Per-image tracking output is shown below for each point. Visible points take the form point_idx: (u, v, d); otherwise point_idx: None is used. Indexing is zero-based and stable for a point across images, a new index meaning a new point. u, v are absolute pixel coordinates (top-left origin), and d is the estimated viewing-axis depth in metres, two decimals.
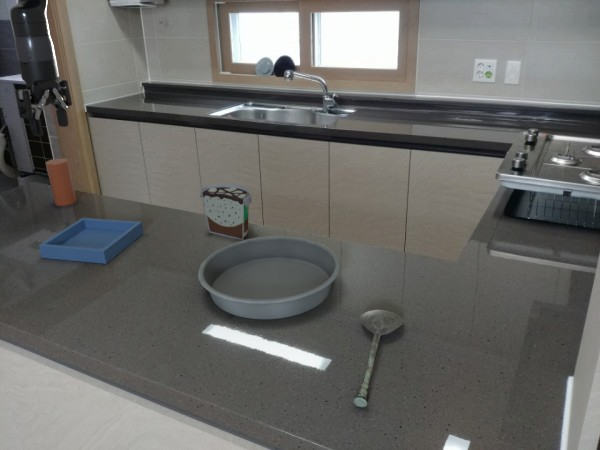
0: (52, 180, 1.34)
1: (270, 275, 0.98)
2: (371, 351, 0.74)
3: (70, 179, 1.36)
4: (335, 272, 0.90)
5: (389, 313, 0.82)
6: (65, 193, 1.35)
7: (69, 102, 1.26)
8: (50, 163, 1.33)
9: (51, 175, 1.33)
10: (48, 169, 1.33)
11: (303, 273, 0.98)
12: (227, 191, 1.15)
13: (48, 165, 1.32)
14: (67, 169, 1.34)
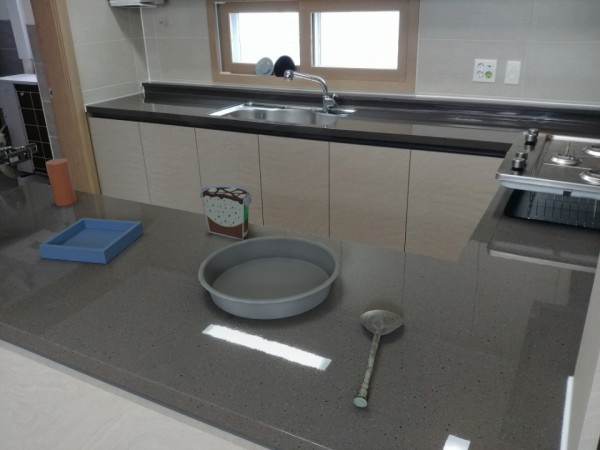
0: (52, 180, 1.34)
1: (270, 275, 0.98)
2: (371, 351, 0.74)
3: (70, 179, 1.36)
4: (335, 272, 0.90)
5: (389, 313, 0.82)
6: (65, 193, 1.35)
7: None
8: (50, 163, 1.33)
9: (51, 175, 1.33)
10: (48, 169, 1.33)
11: (303, 273, 0.98)
12: (227, 191, 1.15)
13: (48, 165, 1.32)
14: (67, 169, 1.34)
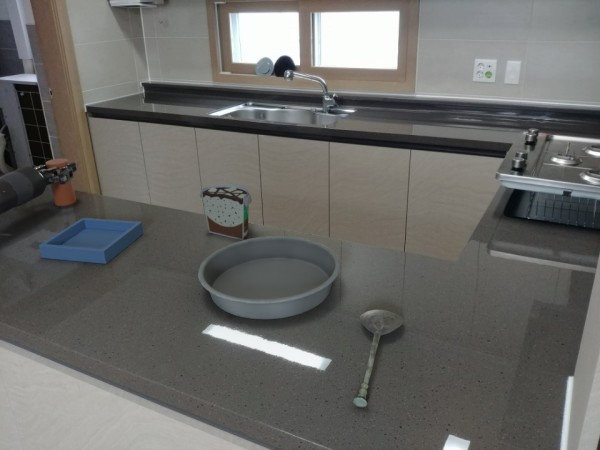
0: None
1: (270, 275, 0.98)
2: (371, 351, 0.74)
3: None
4: (335, 272, 0.90)
5: (389, 313, 0.82)
6: (65, 193, 1.35)
7: None
8: (50, 163, 1.33)
9: None
10: None
11: (303, 273, 0.98)
12: (227, 191, 1.15)
13: (48, 165, 1.32)
14: None
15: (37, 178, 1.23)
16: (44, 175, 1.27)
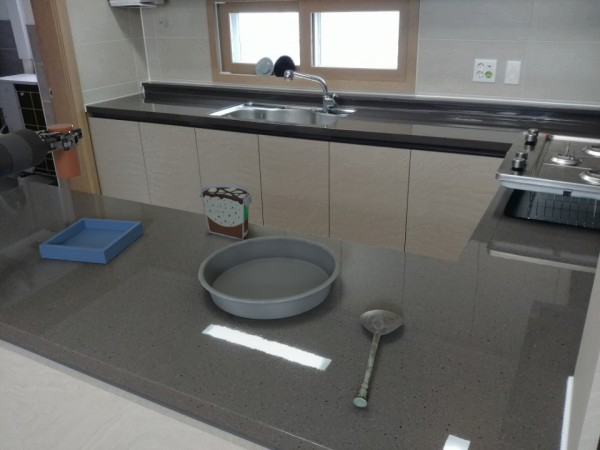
0: None
1: (270, 275, 0.98)
2: (371, 351, 0.74)
3: (75, 147, 1.17)
4: (335, 272, 0.90)
5: (389, 313, 0.82)
6: (69, 164, 1.17)
7: None
8: (52, 128, 1.14)
9: None
10: None
11: (303, 273, 0.98)
12: (227, 191, 1.15)
13: (50, 130, 1.14)
14: None
15: (37, 142, 1.05)
16: (45, 139, 1.08)
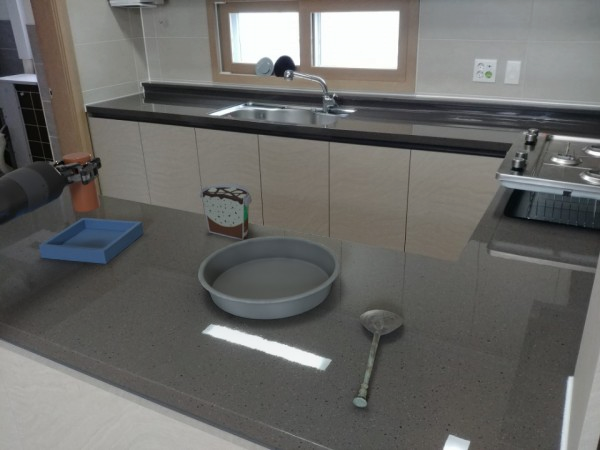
0: None
1: (270, 275, 0.98)
2: (371, 351, 0.74)
3: None
4: (335, 272, 0.90)
5: (389, 313, 0.82)
6: (87, 196, 1.07)
7: None
8: (69, 158, 1.04)
9: None
10: None
11: (303, 273, 0.98)
12: (227, 191, 1.15)
13: (66, 160, 1.04)
14: None
15: (53, 176, 0.95)
16: (62, 173, 0.98)
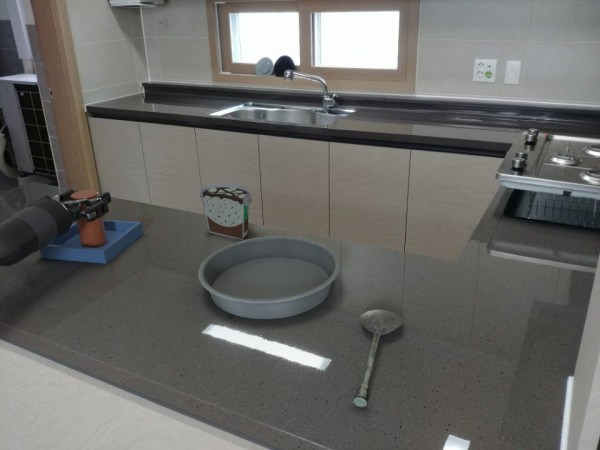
0: None
1: (270, 275, 0.98)
2: (371, 351, 0.74)
3: None
4: (335, 272, 0.90)
5: (389, 313, 0.82)
6: (94, 233, 1.10)
7: None
8: (76, 197, 1.07)
9: None
10: None
11: (303, 273, 0.98)
12: (227, 191, 1.15)
13: (74, 199, 1.07)
14: None
15: (62, 214, 0.98)
16: (70, 209, 1.01)
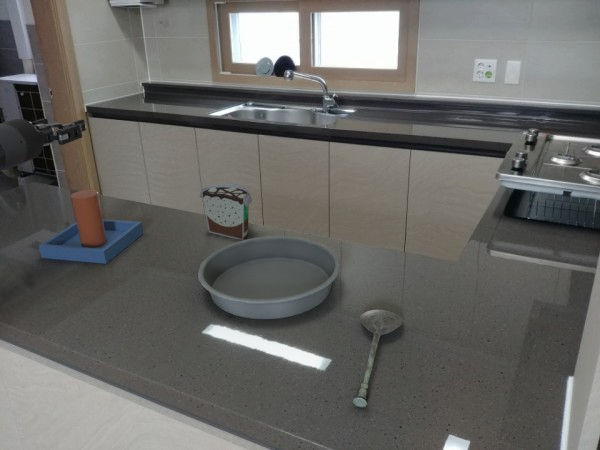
0: (79, 217, 1.08)
1: (270, 275, 0.98)
2: (371, 351, 0.74)
3: (100, 215, 1.11)
4: (335, 272, 0.90)
5: (389, 313, 0.82)
6: (94, 233, 1.10)
7: None
8: (76, 197, 1.07)
9: (77, 212, 1.08)
10: (74, 204, 1.08)
11: (303, 273, 0.98)
12: (227, 191, 1.15)
13: (74, 199, 1.07)
14: (97, 203, 1.09)
15: (32, 133, 0.94)
16: (41, 131, 0.98)
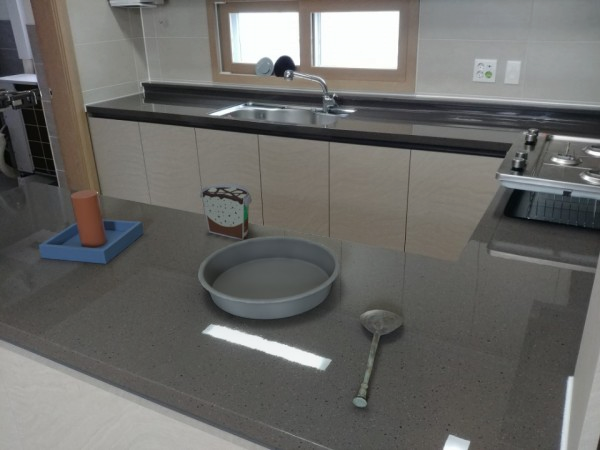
0: (79, 217, 1.08)
1: (270, 275, 0.98)
2: (371, 351, 0.74)
3: (100, 215, 1.11)
4: (335, 272, 0.90)
5: (389, 313, 0.82)
6: (94, 233, 1.10)
7: None
8: (76, 197, 1.07)
9: (77, 212, 1.08)
10: (74, 204, 1.08)
11: (303, 273, 0.98)
12: (227, 191, 1.15)
13: (74, 199, 1.07)
14: (97, 203, 1.09)
15: None
16: None
